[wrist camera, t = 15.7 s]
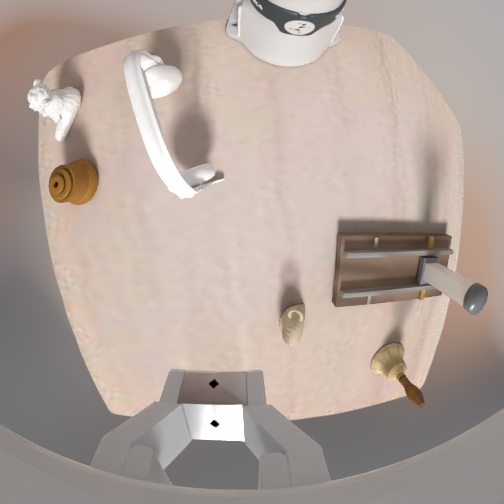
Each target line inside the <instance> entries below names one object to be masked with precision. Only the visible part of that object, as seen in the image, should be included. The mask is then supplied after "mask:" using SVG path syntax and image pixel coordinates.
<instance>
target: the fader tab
mask: <svg viewBox="0 0 504 504" xmlns="http://www.w3.org/2000/svg"><path fill="white" fill-rule="evenodd" d="M439 260H440V258H439V257H437V256H423V257H420V264H419V270H418V276H417V283H419V284H430V285H432V286H433V287H435V288H437V289H438V290H439V291H441V292H442V293H444V294H445V295H447V296H448V297H450V298H451V299H453V300H454V301H456V302H457V303H459V304H460V305H462V306H463V307H464V309H465V310H467V311H468V312H469V313H470V314H472V315H476V314H478V313H479V312H480V311H481V310H482V309H483V307H484V305H485V303H486V301H487V297H488V291H487V288H486V287H484V286H482V285H481V284H479V283H474V282H472V281H470V280H468V279H467V278H465V277H463V276H461V275H459V274H457V273H456V272H454V271H452V270H450V269H448V268H446V267H445V266H443V265H441V264H439Z"/></svg>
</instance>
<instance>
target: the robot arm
mask: <svg viewBox="0 0 504 504" xmlns="http://www.w3.org/2000/svg"><path fill="white" fill-rule="evenodd" d="M345 3H346V0H235V2H234V5H233V8H232V11H231V14H230V17H229V20H228V23H227V27H226V34H227V35H228V36H230V37H231V38H233V39H236V40H238V41H240V42H241V43H242V44H243V45H244V46H245V47H246V48H247V49H248V50H249V51H250V52H251V53H252V54H254V55H255V56H256V57H258V58H260V59H261V60H263V61H266V62H268V63H271V64H275V65H279V66H290V67H291V66H301V65H305V64H308V63H311V62H313V61H315V60H316V59H318V58H319V57H320V56H321V55H322V54H323V52H324V51H325V50H326V49H327V48H328V47H331V46H333V45H335V44H337V43H339V41H340V39H341V36H340V34H339V31H338V30H339V28H340V26H341V24H342V22H343V19H344V17H343V16H342V14H341V12H342V10H343V8H344V5H345ZM234 24H236V26H233V25H234ZM246 380H247V382H246ZM191 439H208V440H244V442H245V443H246V445H247V446H248V447H249V448H250V450H251V451H252V452H253V453H254V455H255V456H256V457H257V458H258V460H259V461H260V465H259V490H216V489H200V488H188V487H180V486H173V485H172V484H171V482H170V480H169V479H168V477H167V475H166V473H165V472H164V469H165V468H166V467H167V466H168V465H169V463H171V462H172V461H173V460H174V459H175V458H176V456H177V455H178V454H179V453H180V452H181V451H182V450H183V449H184V448H185V447H186V446H187V445H188V444H189V443H190V442H191ZM0 504H504V408H503V409H502V410H500V411H499V412H497V413H496V414H494V415H493V416H491V417H490V418H488V419H487V420H485V421H483V422H482V423H480V424H478V425H477V426H475V427H474V428H472V429H470V430H468V431H466V432H465V433H463V434H461V435H459V436H457V437H455V438H454V439H452V440H450V441H448V442H446V443H444V444H441V445H440V446H437V447H435V448H433V449H431V450H428V451H426V452H424V453H421V454H419V455H417V456H414V457H412V458H409V459H406V460H404V461H401V462H399V463H395V464H393V465H390V466H386V467H383V468H380V469H377V470H374V471H370V472H367V473H363V474H359V475H355V476H351V477H347V478H343V479H338V480H334V481H330V477H329V473H328V470H327V466H326V462H325V459H324V455H323V451H322V447H321V446H320V445H319V444H317V443H316V442H315V441H314V440H312V439H311V438H310V437H308V436H307V435H306V434H305V433H303V432H302V431H301V430H300V429H299V428H297V427H296V426H295V425H294V424H293V423H291V422H290V421H289V420H288V419H287V418H286V417H285V416H283V415H282V414H281V413H280V412H279V411H278V410H277V409H276V408H274V407H273V406H272V405H266V396H265V387H264V378H263V371H262V370H251V371H247V372H246V371H197V370H179V369H171V370H170V371H169V374H168V377H167V380H166V383H165V386H164V389H163V392H162V395H161V398H160V401H159V402H154V403H152V404H151V405H149V406H148V407H146V408H145V409H144V410H142V411H141V412H139V413H138V414H136V415H135V416H133V417H132V418H130V419H129V420H127V421H126V422H124V423H123V424H121V425H120V426H118V427H117V428H115V429H114V430H112V431H110V432H109V433H107V434H106V435H104V436H103V437H102V440H101V442H100V444H99V447H98V449H97V451H96V453H95V456H94V458H93V461H92V463H91V466H87V465H84V464H81V463H78V462H76V461H73V460H71V459H68V458H65V457H63V456H60V455H58V454H56V453H53V452H51V451H49V450H47V449H44V448H42V447H40V446H38V445H36V444H34V443H32V442H30V441H28V440H26V439H24V438H22V437H21V436H19V435H17V434H15V433H13V432H12V431H10V430H8V429H7V428H5V427H3V426H1V425H0Z"/></svg>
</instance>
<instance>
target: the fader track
mask: <svg viewBox="0 0 504 504" xmlns="http://www.w3.org/2000/svg"><path fill="white" fill-rule="evenodd" d="M451 238H452V236H449V235H447V234H392V233H338V237H337V253H336V266H335V278H334V288H333V298H332V303H333V304H334V306H335V307H343V306H355V305H366V304H376V303H385V302H394V301H402V300H410V299H419V300H421V299H424V298H425V297H432V296H439V295H441V294H442V292H441V291H439V290H438V289H437V288H435V287H433V286H432V285H430V284H419V283H417V276H418V270H419V264H420V257H423V256H437V257H439V258H440V260H439V264H441V265H443V266H445V267H446V268H447V265H448V259H449V255H451V254H453V250H451V249H450V246H451Z"/></svg>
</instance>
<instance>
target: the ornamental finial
mask: <svg viewBox="0 0 504 504" xmlns="http://www.w3.org/2000/svg"><path fill="white" fill-rule="evenodd" d="M97 186H98V175H97V172H96V169H95V168H94V166H93V165H92V164H91V163H90V162H88V161H85V160H77V161H74V162H72V163H71V164H70V165H60V166H58V167H57V168H55V169H54V171H53V172H52V174H51V176H50V179H49V191H50V194H51V196H52V198H53V199H54V200H55V201H57V202H59V203H64V202H70V203H72V204H76V205H81V204H84V203H86V202H88V201H89V200H90V199H91V198H92V197H93V196H94V194H95V192H96V190H97Z"/></svg>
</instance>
